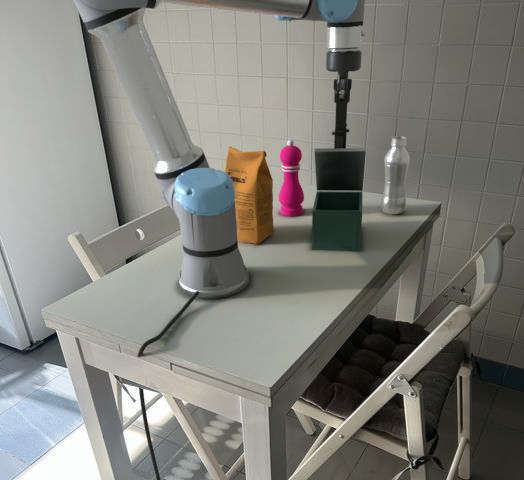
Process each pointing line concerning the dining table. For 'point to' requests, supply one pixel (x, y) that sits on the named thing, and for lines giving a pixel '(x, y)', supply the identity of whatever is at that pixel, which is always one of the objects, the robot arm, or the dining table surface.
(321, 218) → the tin
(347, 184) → the lid
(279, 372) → the dining table surface
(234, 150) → the coffee package
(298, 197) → the pepper mill
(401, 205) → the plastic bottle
